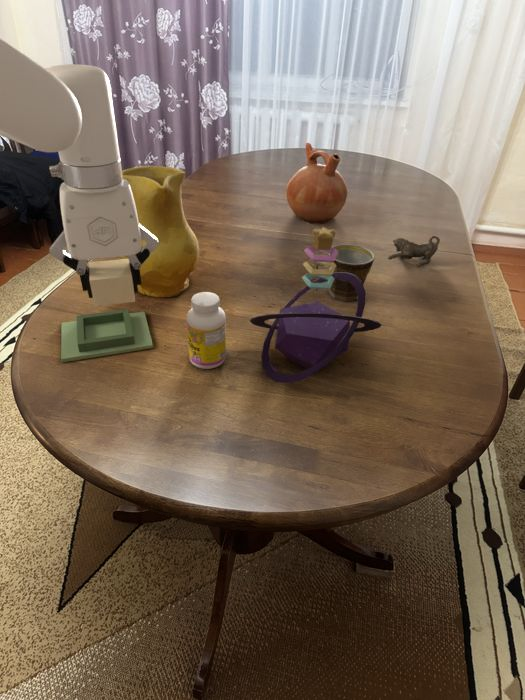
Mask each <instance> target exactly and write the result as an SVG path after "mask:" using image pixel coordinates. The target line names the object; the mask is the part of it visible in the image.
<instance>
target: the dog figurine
mask: <svg viewBox="0 0 525 700" xmlns="http://www.w3.org/2000/svg"><path fill="white" fill-rule="evenodd" d="M433 239H436V241H435V242H434V241H433ZM440 242H441V239H440V237H438V236H436V235H432V236H430V237H429V238H428V242H425V243H417V242H414V241H411V240H409V239H407V238H404V237H400V236H398V237H396V238H394V239H393V240H392V243H393V246H394V247H395V250H396V252H397V253H395V254H394V253H393V254H391V255H388V256H387V260H391V261H392V259H396V258H399V259H400V260H401V259H402V260H412V259H413V258H421V259H422V261H420V262H416V264H415V266H416V267H417V268H420V267H423V266H425V265H429V264H430V263H431V260H432V258H433V256H434V255H435V254H436V252H437V251H438V248H439V244H440Z"/></svg>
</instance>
